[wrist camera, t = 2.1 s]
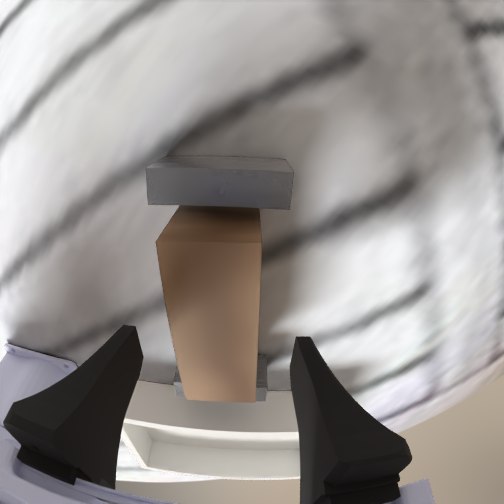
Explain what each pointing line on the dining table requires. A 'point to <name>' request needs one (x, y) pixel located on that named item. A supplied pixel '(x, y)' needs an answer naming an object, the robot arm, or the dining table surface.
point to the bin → (212, 435)
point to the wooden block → (213, 299)
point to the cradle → (221, 199)
